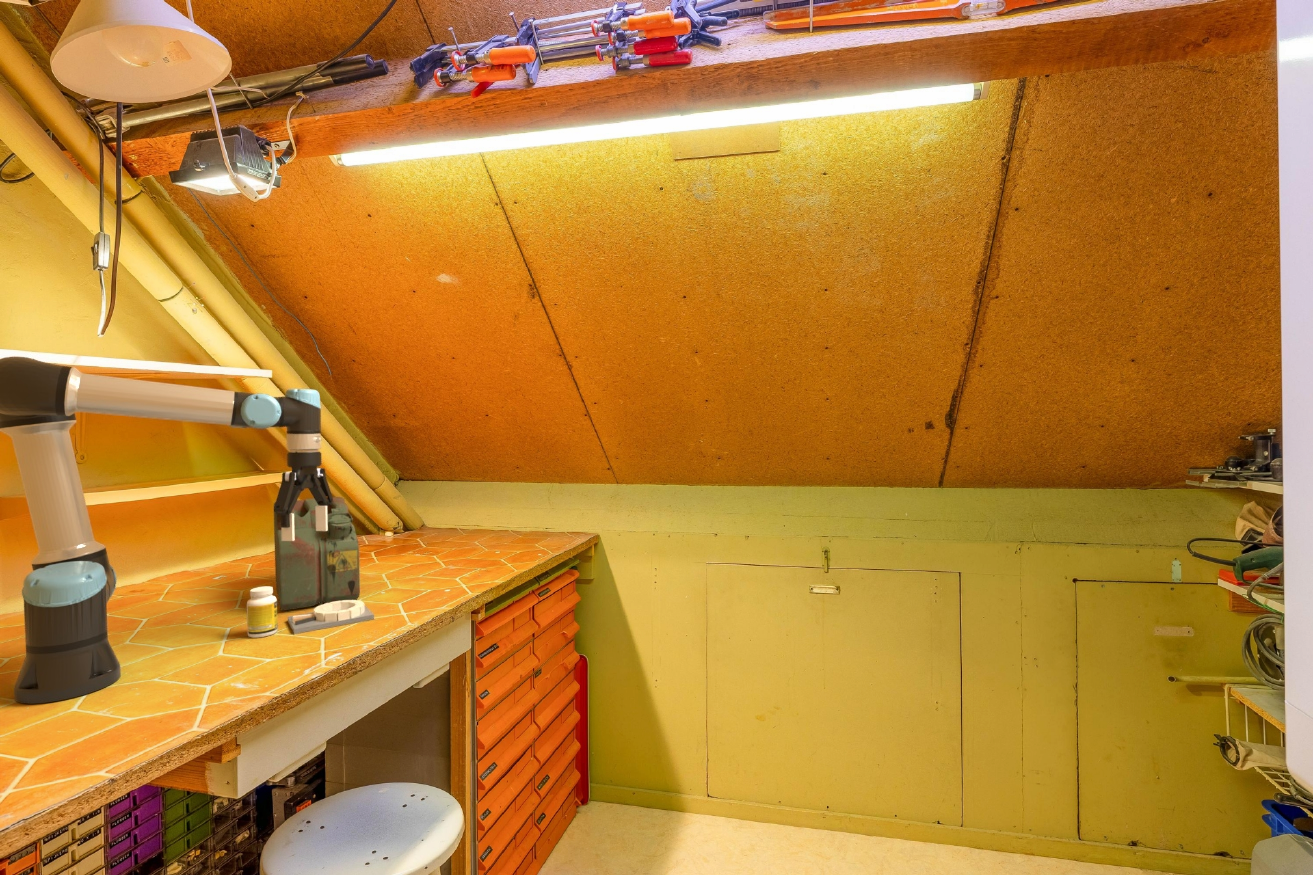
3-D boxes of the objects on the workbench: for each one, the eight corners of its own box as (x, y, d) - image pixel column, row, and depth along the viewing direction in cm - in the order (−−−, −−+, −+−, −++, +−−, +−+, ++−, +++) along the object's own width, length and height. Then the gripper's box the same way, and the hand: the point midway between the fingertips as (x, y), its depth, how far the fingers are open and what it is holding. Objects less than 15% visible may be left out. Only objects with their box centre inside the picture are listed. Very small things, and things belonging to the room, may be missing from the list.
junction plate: (294, 634, 151) (293, 620, 151) (287, 621, 161) (287, 609, 161) (374, 619, 162) (373, 606, 162) (363, 608, 172) (363, 596, 172)
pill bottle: (281, 633, 152) (280, 588, 152) (251, 640, 147) (250, 593, 147) (273, 627, 156) (271, 583, 156) (244, 634, 152) (242, 589, 151)
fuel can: (281, 615, 166) (278, 513, 165) (275, 586, 196) (273, 499, 195) (360, 603, 177) (358, 507, 176) (344, 577, 206) (342, 494, 205)
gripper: (286, 453, 144) (287, 545, 145) (346, 448, 169) (347, 527, 170) (254, 453, 145) (256, 545, 145) (319, 448, 170) (320, 526, 170)
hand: (305, 535), depth 158 cm, fingers open, 13 cm apart
